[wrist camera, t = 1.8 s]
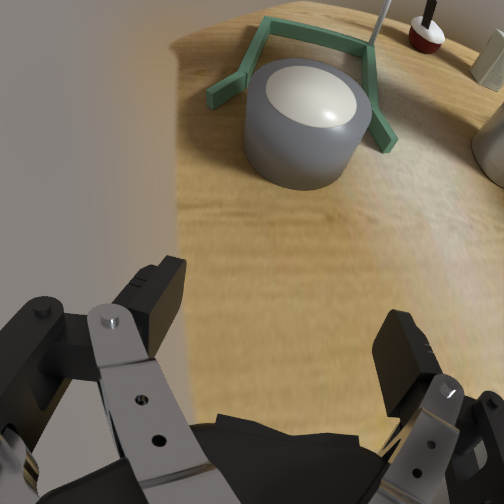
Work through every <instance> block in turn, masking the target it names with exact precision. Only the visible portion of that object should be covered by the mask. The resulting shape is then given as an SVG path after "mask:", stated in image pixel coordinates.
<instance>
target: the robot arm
mask: <svg viewBox="0 0 504 504" xmlns="http://www.w3.org/2000/svg"><path fill="white" fill-rule="evenodd" d="M472 150H473V153H474V156H475V158H476V160H477V162H478V164H479V165H480V167H481V168H482V170H483V171H484V172H485V173H486V175H487V176H488V177H489V178H490V179H491V180H492V181H493V182H495V183H496V184H497V185H499V186H501V187H503V188H504V102H503V104H502V105H501V106H500V107H499V108H498V109H497V111H496V112H495V113H494V114H493V115H492V116H491V118H490V119H489V120H488V121H487V122H486V123H485V124H484V125H483V127H482V128H481V129H480V130H479V131H478V132H477V133H476V134H475V136H474V137H473V139H472ZM186 264H187V263H186V260H184V259H180V258H176V257H172V256H168V255H167V256H166V257H165V258H164V259H163V260H162V262H161V263H160V264H159V265H158V266H155V265H148V266H146V267H144V268H142V269H140V270H139V271H138V272H137V274H136V275H135V276H134V278H132V280H130V282H129V284H127V285H126V286H125V288H124V289H123V290H122V291H121V292H120V294H119V295H118V296H117V297H116V298H115V300H114V301H113V302H112V303H111V304H102V305H99V306H96V307H94V308H93V309H92V310H91V311H90V312H89V313H88V315H79V314H70V313H64V309H63V305H62V303H61V302H60V301H59V300H57V299H56V298H53V297H48V296H42V297H36V298H33V299H31V300H30V301H28V302H27V303H26V304H25V305H24V306H23V307H22V308H21V309H20V310H19V311H18V312H17V313H16V314H15V315H14V316H13V317H12V319H11V320H10V321H9V322H8V323H7V324H6V325H5V326H4V327H3V328H2V329H1V331H0V504H431V502H432V500H433V498H434V496H435V494H436V492H437V490H438V487H439V485H440V483H441V481H442V478H443V476H444V474H445V478H446V484H447V489H448V495H449V501H450V504H504V400H503V399H502V398H501V397H500V396H499V395H498V394H496V393H494V392H492V391H484V392H483V393H482V394H481V395H480V397H479V398H478V399H477V400H476V399H473V398H471V397H468V396H465V395H464V390H463V388H462V386H461V385H460V383H459V382H458V381H457V380H456V379H454V378H453V377H451V376H449V375H446V374H443V372H442V370H441V368H440V366H439V363H438V361H437V359H436V357H435V355H434V353H433V350H432V348H431V346H429V345H430V344H429V342H428V340H427V338H426V336H425V334H424V333H423V332H422V331H421V330H420V329H419V328H418V327H416V324H415V322H414V320H413V318H412V316H411V314H410V313H408V312H403V311H399V310H394V309H392V310H391V311H390V312H389V313H388V315H387V317H386V319H385V321H384V323H383V325H382V327H381V328H380V330H379V332H378V334H377V336H376V338H375V340H374V343H373V347H372V355H373V359H374V363H375V367H376V371H377V374H378V379H379V383H380V387H381V391H382V395H383V399H384V404H385V408H386V412H387V417H397V418H400V422H399V423H398V424H397V425H396V426H395V428H394V429H393V431H392V433H391V434H390V436H389V437H388V439H387V440H386V442H385V443H384V445H383V446H382V448H381V449H380V451H379V452H378V454H376V453H374V452H372V451H370V450H368V449H366V448H363V447H361V446H360V445H359V437H358V436H356V435H344V434H334V433H319V434H309V435H296V436H292V435H287V434H285V433H282V432H279V431H277V430H274V429H272V428H269V427H267V426H264V425H262V424H259V423H257V422H254V421H250V420H245V419H240V418H236V417H231V416H227V415H222V414H217V418H216V422H215V423H202V424H195V425H188V423H187V421H186V419H185V417H184V415H183V413H182V411H181V410H180V408H179V406H178V404H177V402H176V400H175V398H174V395H173V393H172V391H171V389H170V387H169V385H168V384H167V381H166V379H165V377H164V375H163V372H162V370H161V368H160V366H159V364H158V362H157V360H156V359H155V358H154V357H155V355H156V353H157V351H158V349H159V347H160V345H161V343H162V341H163V339H164V337H165V336H166V333H167V332H168V330H169V327H170V326H171V324H172V322H173V320H174V318H175V316H176V314H177V312H178V310H179V308H180V305H181V301H182V296H183V289H184V280H185V273H186ZM72 379H77V380H85V381H95V382H97V386H98V390H99V394H100V397H101V401H102V404H103V408H104V411H105V414H106V418H107V421H108V424H109V427H110V431H111V435H112V438H113V442H114V445H115V448H116V451H117V453H118V456H119V460H117V461H116V462H113V463H111V464H109V465H107V466H105V467H103V468H101V469H99V470H97V471H95V472H92V473H90V474H88V475H86V476H84V477H81V478H79V479H77V480H75V481H72V482H70V483H68V484H65V485H63V486H61V487H58V488H56V489H53V490H51V491H49V492H48V493H46V494H45V495H43V496H42V497H41V498H40V497H39V495H38V492H37V481H38V477H39V467H38V464H37V462H36V460H35V458H34V457H33V455H32V452H33V450H34V448H35V446H36V444H37V442H38V441H39V438H40V437H41V435H42V433H43V431H44V429H45V427H46V425H47V423H48V422H49V420H50V418H51V416H52V414H53V412H54V411H55V409H56V407H57V405H58V403H59V402H60V400H61V398H62V396H63V395H64V393H65V391H66V389H67V388H68V386H69V384H70V382H71V381H72ZM482 440H483V441H484V444H485V448H486V451H487V456H488V458H487V462H486V464H485V465H484V467H483V468H482V469H480V470H479V467H478V463H477V459H476V456H475V452H474V448H475V447H476V446H477V445H478V444H479V443H480V442H481V441H482Z"/></svg>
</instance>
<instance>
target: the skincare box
mask: <svg viewBox="0 0 504 504" xmlns="http://www.w3.org/2000/svg"><path fill="white" fill-rule="evenodd" d="M470 71H471V73H472V75H473V76H474V78H475V80H476V81H477V83H478V84H480V85H482V86H484V87H487V88H489V89H491V90H494V91H496V92H498V91H499V90H500V89H501V87H502V86H503V85H504V33H503V32H502V31H499V30H498V29H496V30H495V31H494V33H493V34H492V36H491V38H490V39H489V41H488V42H487V44H486V45H485V47H484V48H483V50H482V51H481V53H480V54H479V56H478V57H477V59H476V60H475V62H474V64H473V65H472V66H471V68H470Z"/></svg>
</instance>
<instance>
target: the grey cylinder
mask: <svg viewBox="0 0 504 504" xmlns="http://www.w3.org/2000/svg"><path fill="white" fill-rule="evenodd" d="M371 117H372V108H371V104H370V101H369V98H368V97H367V95H366V93H365V92H364V90H363V89H362V88H361V87H360V85H359V84H358V83H357V82H356V81H354V80H353V79H352V78H351V77H350V76H348V75H347V74H345V73H344V72H342V71H341V70H339V69H337V68H335V67H333V66H330V65H328V64H325V63H322V62H319V61H315V60H310V59H302V58H287V59H280V60H276V61H272V62H270V63H267V64H265V65H264V66H262V67H260V68H259V69H258V70H257V71H256V72H255V73H254V74H253V75H252V77H251V78H250V81H249V84H248V92H247V104H246V116H245V128H244V140H243V145H244V151H245V154H246V157H247V159H248V161H249V163H250V164H251V165H252V167H253V168H254V169H255V170H256V171H257V172H258V173H259V174H260V175H261V176H263V177H264V178H265V179H267V180H269V181H270V182H272V183H274V184H276V185H278V186H281V187H284V188H288V189H292V190H300V191H308V190H316V189H320V188H323V187H326V186H328V185H330V184H332V183H333V182H334V181H336V180H337V179H338V178H339V177H340V176H341V174H342V173H343V171H344V170H345V168H346V166H347V164H348V162H349V161H350V159H351V157H352V155H353V153H354V152H355V150H356V148H357V146H358V144H359V142H360V141H361V139H362V137H363V135H364V133H365V131H366V130H367V128H368V126H369V124H370V121H371Z"/></svg>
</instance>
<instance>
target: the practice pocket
mask: <svg viewBox="0 0 504 504" xmlns="http://www.w3.org/2000/svg"><path fill="white" fill-rule="evenodd" d="M390 3H391V0H385V2H384V4H383V7H382V10H381V12H380V14H379V17H378V20H377V22H376V25H375V27H374V30H373V32H372V35H371V37H370V40H369V42H366V41H363V40H360V39H357V38H354V37H351V36H348V35H344V34H341V33H338V32H334V31H331V30H327V29H323V28H319V27H315V26H311V25H307V24H303V23H299V22H294V21H289V20H284V19H279V18H274V17H269V16H264V18H263V20H262V22H261V24H260V26H259V28H258V30H257V32H256V34H255V36H254V38H253V40H252V42H251V44H250V46H249V48H248V50H247V52H246V54H245V56H244V58H243V60H242V62H241V65H240V67H239V69H238V71H237V72H235V73H234V74H232V75H230V76H228V77H227V78H225V79H223V80H222V81H220V82H218V83H216V84H215V85H213V86H211V87H210V88H208V89H207V90H206V99H207V106H208V107H209V108H211V109H212V110H214V109H215V108H217V107H218V106H220V105H221V104H223V103H224V102H226V101H227V100H229V99H230V98H232V97H234V96H235V95H237V94H238V93H240V92H242V91H243V90H245V88H246V89H247V86H248V84H249V81H250V78H251V76H252V74H253V71H254V69H255V66H256V64H257V62H258V59H259V57H260V54H261V52H262V50H263V47H264V45H265V43H266V40H267V38H268V36H269V34H273V35H279V36H283V37H288V38H293V39H297V40H301V41H306V42H310V43H314V44H318V45H321V46H325V47H329V48H332V49H336V50H339V51H343V52H346V53H349V54H352V55H355V56H359V57H362V89H363V90H364V92H365V93H366V95H367V97H368V98H369V101H370V104H371V108H372V117H371V121H370V124H369V126H368V129H369V131H370V132H371V134H372V136H373V137H374V139H375V141H376V142H377V144H378V146H379V148H380V149H381V151H382V153H389V152H390V151H391V150H392V148H393V147H394V145H395V144H396V142H397V141H398V138H397V136H396V135H395V133H394V131H393V130H392V128H391V126H390V125H389V123H388V122H387V120H386V119H385V117H384V116H383V114H382V112H381V111H380V109H379V107H378V86H377V70H376V58H375V47H374V42H375V40H376V38H377V35H378V33H379V30H380V28H381V25H382V23H383V20H384V18H385V15H386V13H387V10H388V8H389V5H390Z"/></svg>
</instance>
